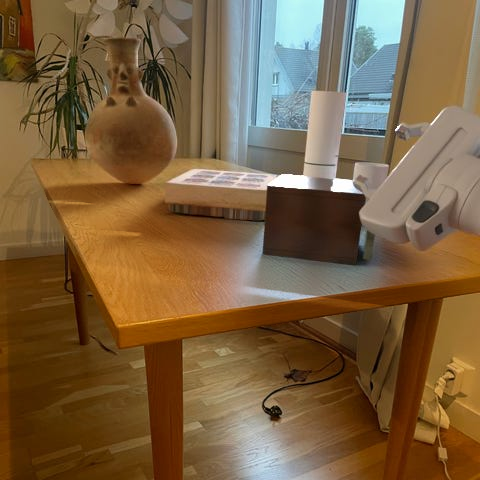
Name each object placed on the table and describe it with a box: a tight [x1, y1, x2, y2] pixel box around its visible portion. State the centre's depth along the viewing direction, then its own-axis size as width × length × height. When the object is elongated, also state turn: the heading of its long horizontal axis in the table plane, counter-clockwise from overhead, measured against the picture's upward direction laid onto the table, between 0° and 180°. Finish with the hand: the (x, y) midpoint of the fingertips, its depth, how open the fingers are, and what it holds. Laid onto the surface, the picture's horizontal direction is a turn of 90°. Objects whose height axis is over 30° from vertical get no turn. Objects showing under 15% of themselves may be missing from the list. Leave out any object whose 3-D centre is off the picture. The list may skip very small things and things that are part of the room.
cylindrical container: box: [302, 90, 347, 179], centre depth 104 cm, size 7×7×25 cm
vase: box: [84, 36, 178, 185], centre depth 125 cm, size 24×24×35 cm
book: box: [164, 168, 279, 222], centre depth 110 cm, size 25×6×28 cm
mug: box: [352, 161, 390, 227], centre depth 101 cm, size 10×7×12 cm, turn 161°
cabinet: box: [262, 174, 366, 266], centre depth 80 cm, size 15×13×11 cm
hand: (377, 155), depth 70 cm, fingers open, 8 cm apart
